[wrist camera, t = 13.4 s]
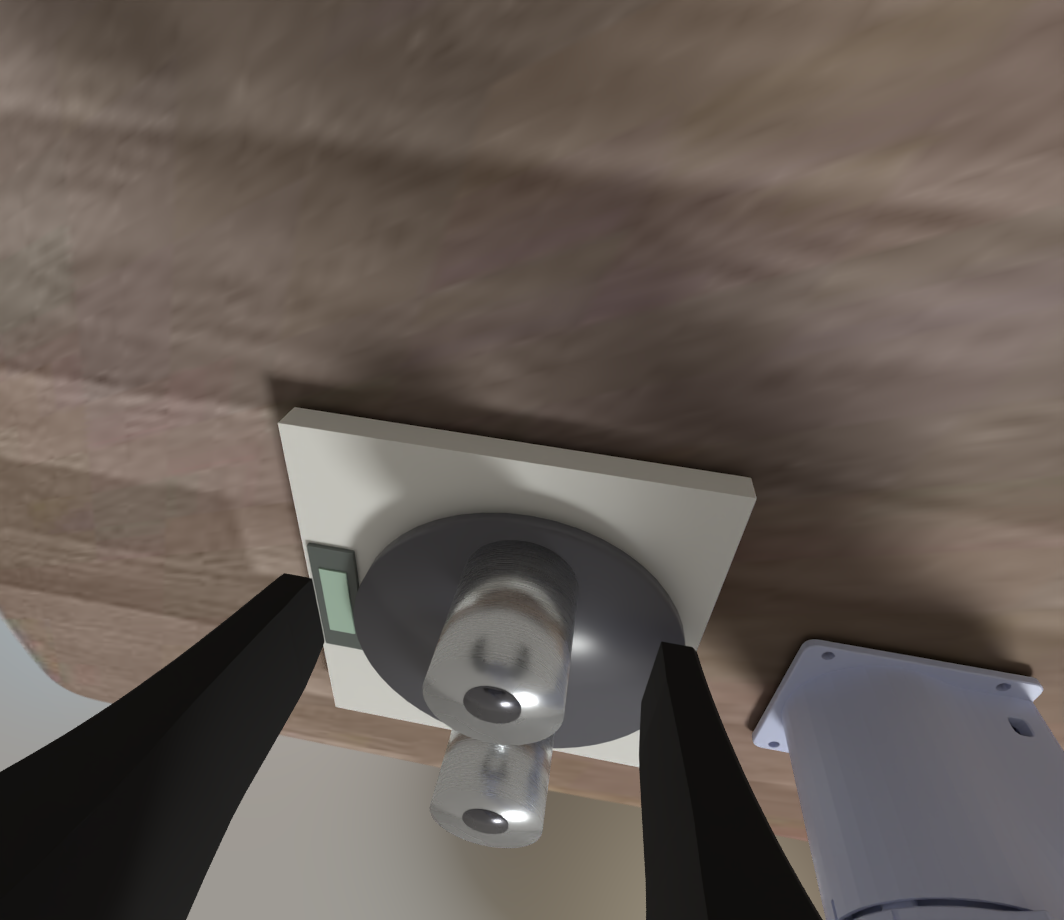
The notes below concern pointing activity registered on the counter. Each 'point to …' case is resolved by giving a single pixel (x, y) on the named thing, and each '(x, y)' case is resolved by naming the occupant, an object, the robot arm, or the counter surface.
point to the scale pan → (600, 625)
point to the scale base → (492, 487)
